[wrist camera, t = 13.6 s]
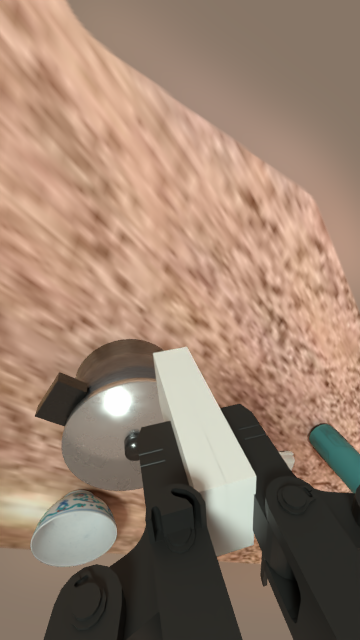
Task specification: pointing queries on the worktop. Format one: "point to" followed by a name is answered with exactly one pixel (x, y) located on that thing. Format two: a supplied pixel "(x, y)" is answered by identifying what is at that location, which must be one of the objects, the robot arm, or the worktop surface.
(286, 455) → the soap
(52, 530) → the chinaware
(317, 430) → the beverage bottle
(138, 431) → the lid
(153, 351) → the pot
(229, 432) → the robot arm
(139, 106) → the worktop surface
